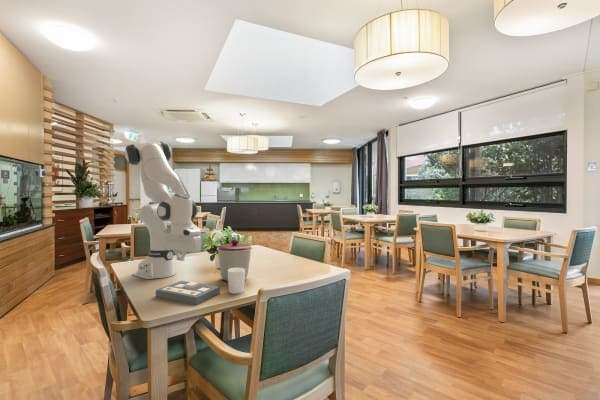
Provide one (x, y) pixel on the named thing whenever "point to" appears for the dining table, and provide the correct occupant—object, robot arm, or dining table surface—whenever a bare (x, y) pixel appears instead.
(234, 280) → the white cup
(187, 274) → the dining table surface
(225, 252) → the canister
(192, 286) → the middle button
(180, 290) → the button panel
